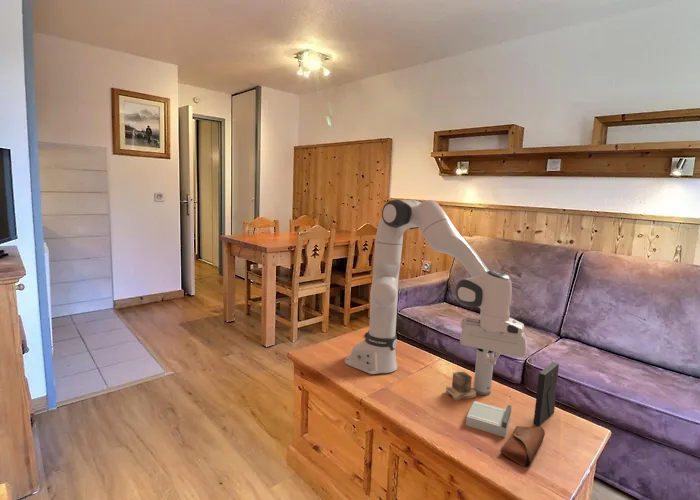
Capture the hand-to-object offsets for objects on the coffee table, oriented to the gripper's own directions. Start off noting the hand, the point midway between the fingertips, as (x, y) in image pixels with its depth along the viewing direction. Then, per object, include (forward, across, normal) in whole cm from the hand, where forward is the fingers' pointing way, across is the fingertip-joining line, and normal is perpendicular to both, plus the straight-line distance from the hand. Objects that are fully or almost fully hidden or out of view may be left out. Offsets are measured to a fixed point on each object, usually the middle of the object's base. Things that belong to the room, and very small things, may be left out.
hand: (490, 363), depth 127 cm
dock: (+20, +1, 0) cm, 20 cm away
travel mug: (+20, -5, +21) cm, 30 cm away
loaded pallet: (+20, -12, +14) cm, 27 cm away
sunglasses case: (+21, +10, -8) cm, 25 cm away
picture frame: (+20, +17, +13) cm, 30 cm away
